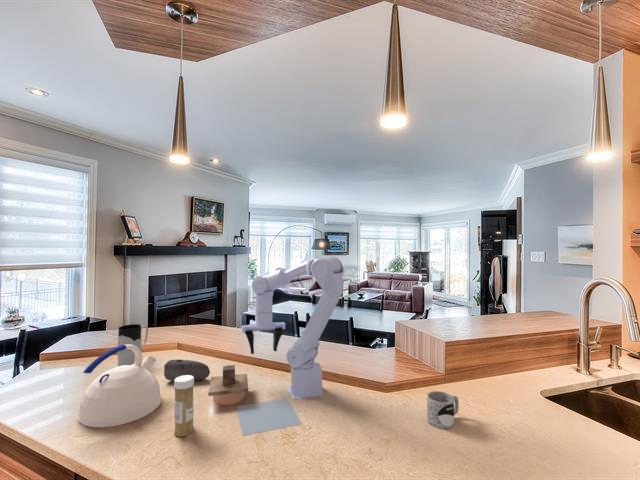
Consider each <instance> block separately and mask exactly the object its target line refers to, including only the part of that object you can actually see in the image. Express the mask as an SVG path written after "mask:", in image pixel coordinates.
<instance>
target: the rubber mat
mask: <svg viewBox="0 0 640 480" xmlns="http://www.w3.org/2000/svg"><path fill="white" fill-rule="evenodd" d="M236 411H237V416H238V420H239V425H240V429H241V433H242V436H249V435H250V436H251V435H254V434H258V433H259V434H260V433H265V432H268V431H273V430H278V429H286V428H290V427H294V426H299V425H303V422H302V421H301V419H300V418H299V416H298V414H297V412H296V411H295V409H294V407H293V406H292V404H291V402H290V400H289V399H288V397H287V398H282V399H281V398H280V399H275V400H269V401H268V400H267V401H263V402H262V401H261V402H257V403H251V404H244V405H238V406H236Z"/></svg>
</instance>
